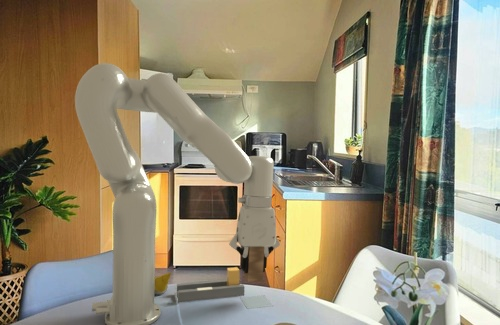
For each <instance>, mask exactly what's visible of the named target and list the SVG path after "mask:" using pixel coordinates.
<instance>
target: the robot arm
mask: <svg viewBox="0 0 500 325" xmlns="http://www.w3.org/2000/svg"><path fill="white" fill-rule="evenodd" d="M75 90H76V91H75V94H74V104H75V105H74V107H75V112H76V115H77V118H78V121H79V125H80V128H81V129H82V132H83V135H84V137H85V139H86V140H85V141H86V142H87V143H86V144H87V145H88V147H89V149H90V152H91V155H92V157H93V161H94V163H95V165H96V168H97V170H98V173H99V175H100V176H101V177H102V178H103V179H104V180H105V181H107V182H108V185H109V187H110V189H111V191H112V194H113V196H114V201H113V206H112V231H113V232H112V233H113V235H112V236H113V237H112V240H113V241H112V247H113V248H112V256H113V259H112V295H111V299H107V300H106V301H104V302H103V301H96V302H92V304H91V312H95V315H102V314H105V315H104V323H105V324H106V325H151V324H153V323H155V322H156V321H157V320H159V318H160V317H161V312H162V311H161V307H160V306H159V305H158V304H156V303H155V294H154V291H155V276H156V275H155V273H156V226H157V223H156V222H157V200H156V196H155V195H156V194H155V192H154V190H153V188H152V186H151V183H150V180H149V178H148V176H147V174H146V171H145V168H144V166H143V164H142V161H141V159H140V156H139V153H137V152H136V150H135V149H134V148H133V147H132V145H131V143H130V140H129V137H128V136H127V134H126V132H125V129H124V126H123V123H122V121H121V118H120V116H119V114H118V113H119V112H118V110H125V111H135V112H142V113H143V112H144V113H156V114H158V115H159V116H160V117H161V118H162V119H163V121H165V122H166V124H167V125H168V126H169V127H171V129H172V130H173V131H174V132H175V134H176V135H177V136H178V137H180V139H182V140H183V141H184V142H186V143H187V144H188V145H190V146H191V147H193V148H195V149H196V150H197V151H198V152H200V153H201V154H203V155H204V156H205V157H206V159H208V160H209V161H210V163H212V165H214V171H215V174H216V176H217V177H218V178H219V179H220V180H222V181H224V182H226V183H231V184H235V185H240V184H243V183H244V186H243V188H244V189H243V195H242V196H240V197H238V199H237V201H238V203H239V204H242V206H240V209H239V213H238V217H237V221H236V222H237V223H236V229H235V230H236V231H235V235H233V237H232V239H231V240H230V241H229V243H228V244H229V246H230V247H231V248H232V249H234V250H235V251H237V252H238V254H240V256H241V257H240V269H242V271H243V273H244V272H245V273H248V261H249V258H248V255H247V254H248V250H249V247H264V264H263V273H265V272H266V269H267V263H268V258H269V255H270V254H271V253H272V252H273V251H274V250H275V249H277V248H278V247H279V246H280V245H281V243H280V241H279V238H277V223H276V212H275V208H273V207H272V202H273V200H272V199H273V183H274V182H273V181H274V167H275V166H274V164H275V163H274V159H273V158H272V157H270V156H262V155H250V156H248V155H247V154H246V152H244V150H243V149H242V148H241V147H240V146H239V145H238V144H237V143H236V142H235V140H234V139H233V138H232V137H231V136H230V135H229V134H228V133H227V132H226V131H224V130H223V129H222V128H221V127H220V126H218V124H217V123H216V122H214V121H213V120H212V119H211V118H210V117H209V116H208V115H207V114H205V112H204V111H203V110H202V109H201V108H200V107H199V106H198V105H197V103H195V101H194V100H193V99H192V98H191V97H190V96H189V95H188V93H187V92H186V91H184V89H183V88H182V86H180V85H179V84H178V82H177V81H176V80H174V79H173V77H171V76H169V75H168V74H166V73H162V72H161V73H159V72H158V73H154V74H152V75H151V76H149V77H148V78H147V79H137V78H131V77H128V75H127V74H126V73H125V72H124V71H123V70H122V69H121V68H120V67H119V66H117V65H115V64H114V63H113V64H112V63H109V62H102V63H99V64H98V63H97V64H95V65H93V66H92V67H91V68H89V69H88V70H87V71H86V72H85V73H84V74H83V75H82V77H81V78H80V80H79V81H78V84H77V86H76V89H75ZM237 243H238V244H239V245H238V244H237Z"/></svg>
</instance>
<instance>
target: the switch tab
mask: <svg viewBox="0 0 500 325" xmlns="http://www.w3.org/2000/svg"><path fill="white" fill-rule="evenodd" d="M226 279H227V286H231V285H239V280H240V269H239V268H238V266H235V267H227V269H226Z"/></svg>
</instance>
